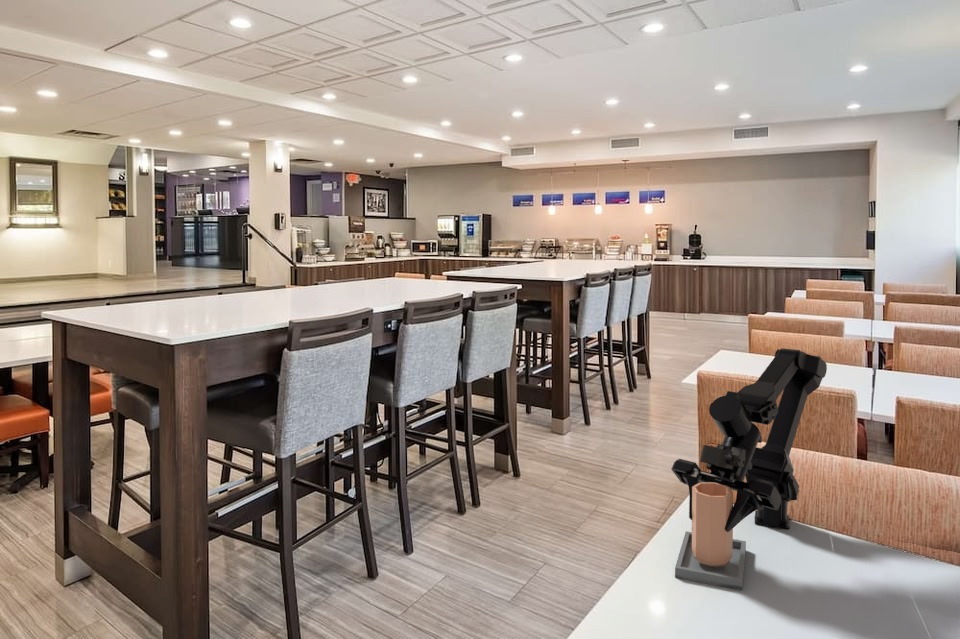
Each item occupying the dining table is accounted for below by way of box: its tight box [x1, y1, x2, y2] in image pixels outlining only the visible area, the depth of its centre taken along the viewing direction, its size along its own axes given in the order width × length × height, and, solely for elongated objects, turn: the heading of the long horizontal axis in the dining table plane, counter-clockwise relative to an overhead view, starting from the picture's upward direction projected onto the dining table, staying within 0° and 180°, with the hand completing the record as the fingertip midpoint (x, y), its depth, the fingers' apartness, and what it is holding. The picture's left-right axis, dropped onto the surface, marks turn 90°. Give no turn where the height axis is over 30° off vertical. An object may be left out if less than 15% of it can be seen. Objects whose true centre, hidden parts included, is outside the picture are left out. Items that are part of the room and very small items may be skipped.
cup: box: [691, 482, 734, 567], centre depth 110 cm, size 6×6×13 cm
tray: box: [674, 531, 747, 591], centre depth 112 cm, size 15×11×2 cm
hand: (708, 524), depth 109 cm, fingers closed on cup, 6 cm apart
